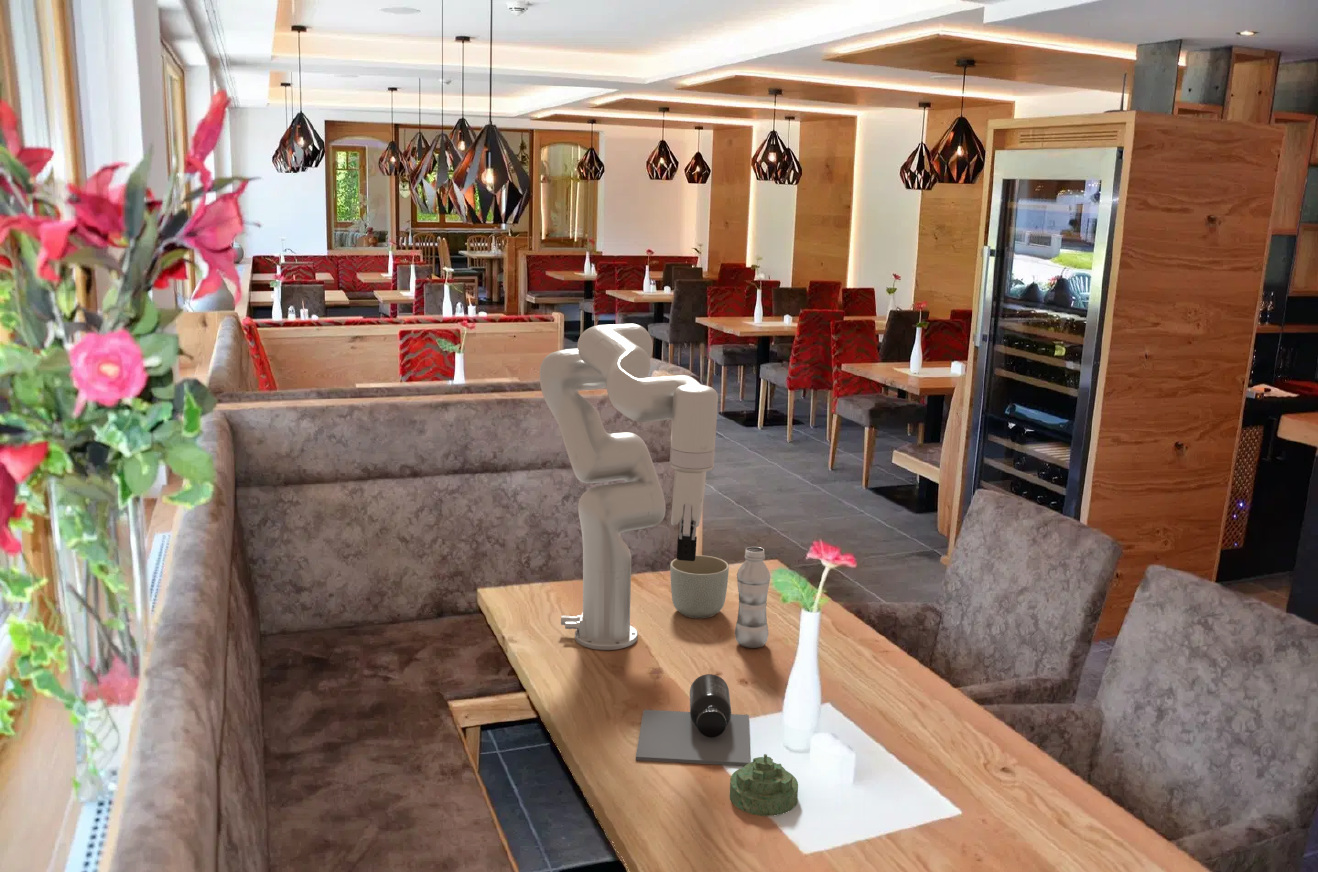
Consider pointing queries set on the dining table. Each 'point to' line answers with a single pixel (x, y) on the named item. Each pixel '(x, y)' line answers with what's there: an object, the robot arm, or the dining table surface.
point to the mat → (691, 740)
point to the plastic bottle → (752, 599)
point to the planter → (699, 586)
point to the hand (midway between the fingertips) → (686, 558)
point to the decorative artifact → (763, 788)
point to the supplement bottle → (710, 705)
